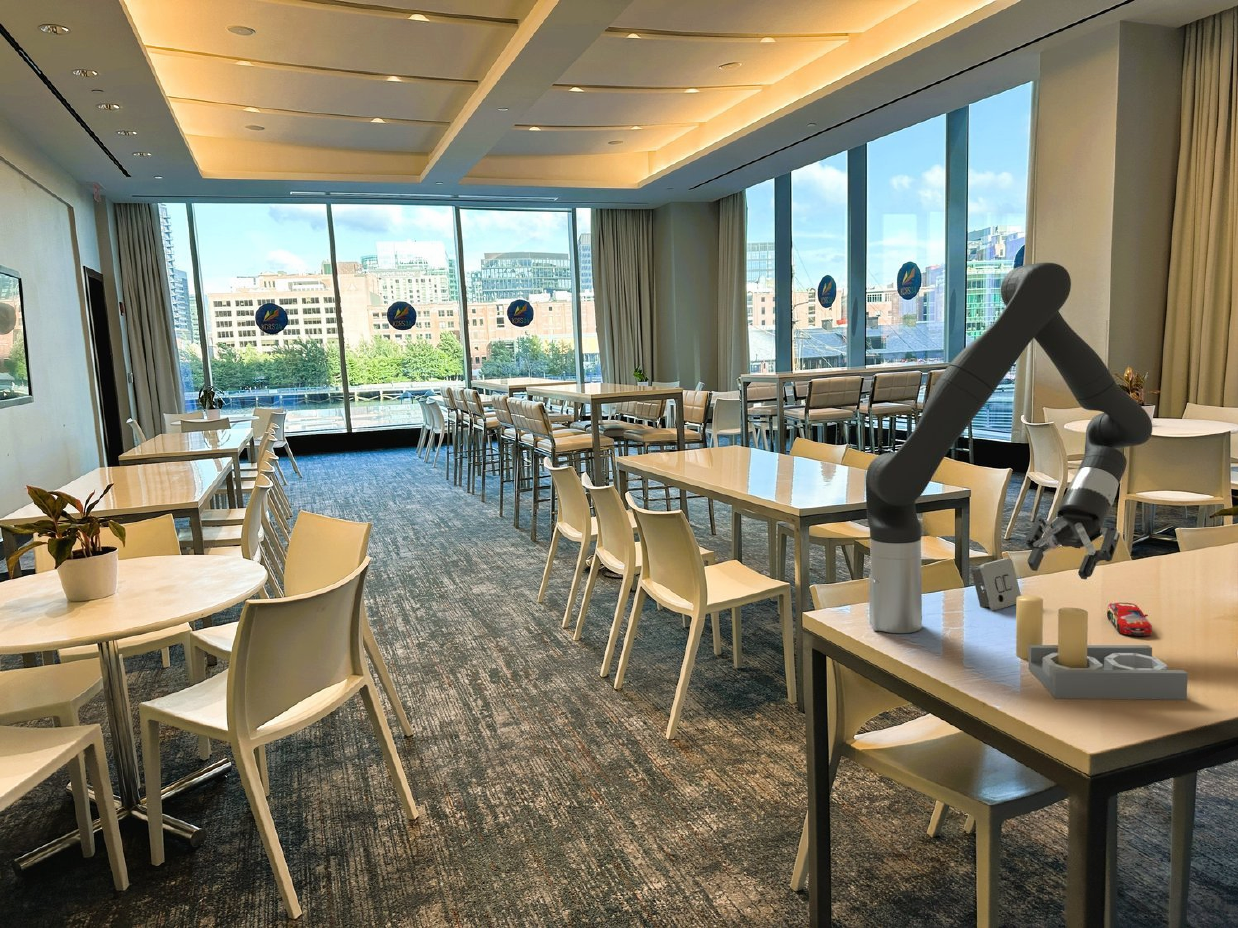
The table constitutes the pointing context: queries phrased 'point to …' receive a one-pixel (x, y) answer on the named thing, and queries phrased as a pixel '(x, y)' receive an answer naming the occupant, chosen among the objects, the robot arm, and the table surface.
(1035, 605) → the domed yellow post
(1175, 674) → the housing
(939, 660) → the table surface
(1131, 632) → the race car
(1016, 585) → the electrical switch
